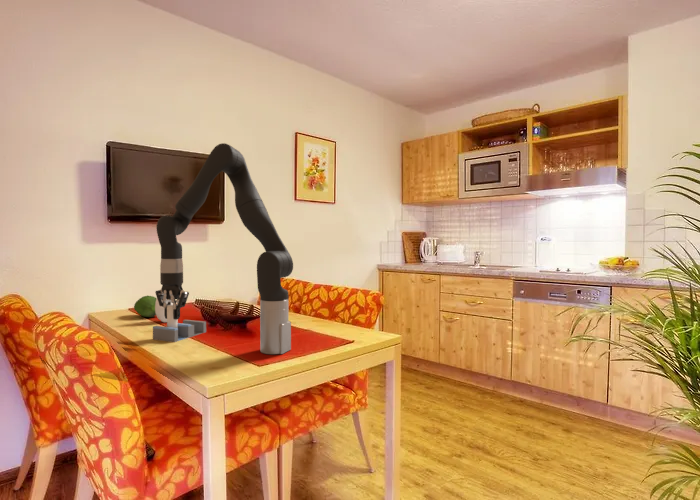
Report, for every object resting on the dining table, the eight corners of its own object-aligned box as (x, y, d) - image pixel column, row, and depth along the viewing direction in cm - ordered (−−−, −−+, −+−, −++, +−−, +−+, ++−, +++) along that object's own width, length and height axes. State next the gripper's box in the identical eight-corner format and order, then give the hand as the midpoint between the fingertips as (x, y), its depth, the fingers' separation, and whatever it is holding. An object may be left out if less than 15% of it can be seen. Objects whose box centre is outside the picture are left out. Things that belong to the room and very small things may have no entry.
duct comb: (206, 334, 154) (206, 320, 154) (174, 344, 139) (174, 328, 139) (185, 332, 158) (185, 318, 158) (152, 342, 143) (152, 326, 143)
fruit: (128, 316, 188) (128, 295, 188) (149, 313, 196) (149, 292, 196) (144, 320, 179) (144, 298, 179) (165, 316, 187) (165, 295, 187)
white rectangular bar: (179, 334, 146) (179, 304, 145) (172, 337, 142) (172, 306, 142) (172, 333, 147) (172, 304, 147) (165, 336, 144) (164, 305, 143)
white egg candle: (178, 321, 177) (177, 281, 176) (160, 324, 171) (159, 282, 170) (169, 319, 182) (169, 280, 181) (152, 322, 176) (151, 281, 175)
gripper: (194, 271, 145) (195, 318, 146) (164, 269, 150) (165, 315, 150) (179, 272, 138) (179, 322, 138) (148, 271, 143) (148, 319, 143)
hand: (172, 318), depth 144 cm, fingers closed on white rectangular bar, 3 cm apart
